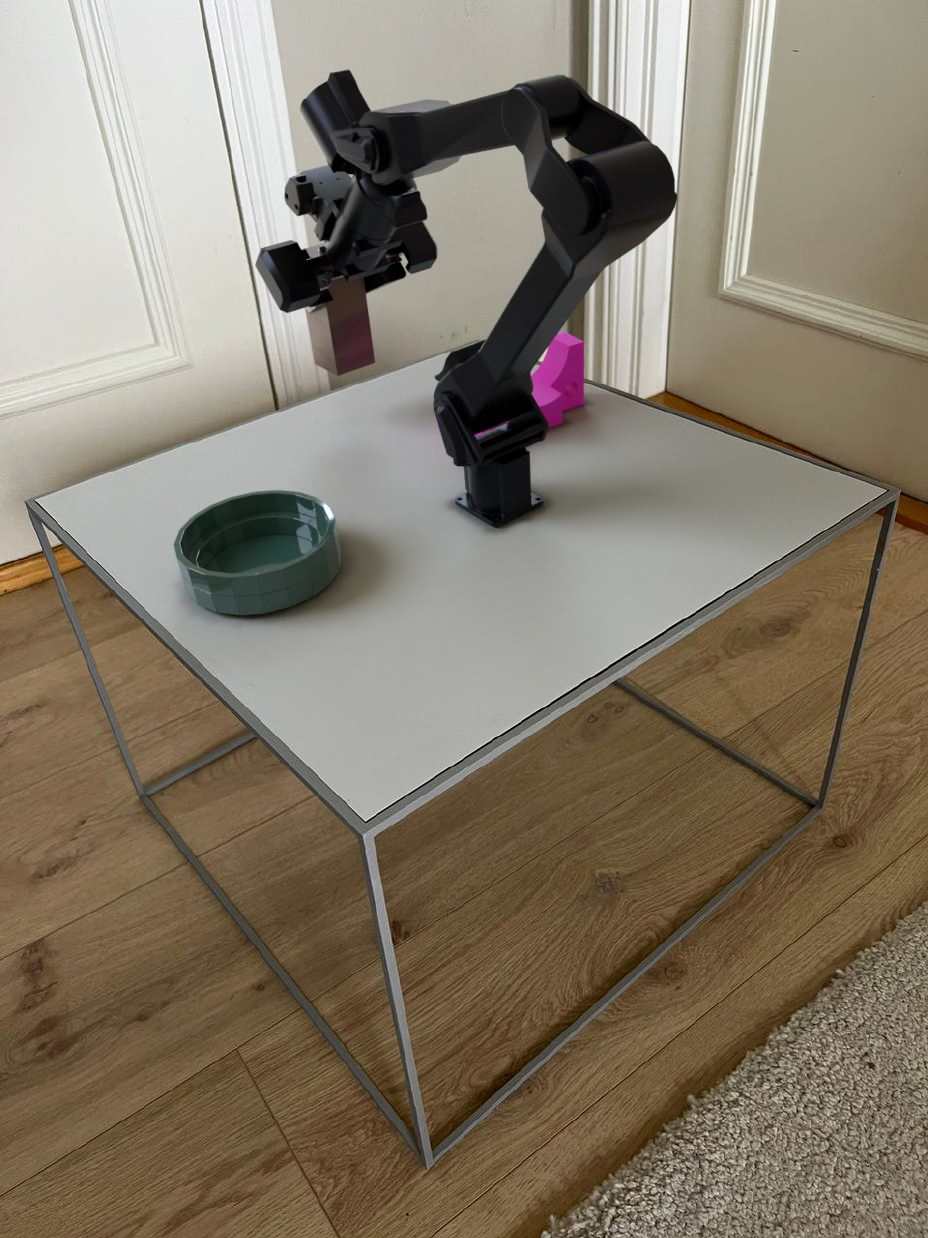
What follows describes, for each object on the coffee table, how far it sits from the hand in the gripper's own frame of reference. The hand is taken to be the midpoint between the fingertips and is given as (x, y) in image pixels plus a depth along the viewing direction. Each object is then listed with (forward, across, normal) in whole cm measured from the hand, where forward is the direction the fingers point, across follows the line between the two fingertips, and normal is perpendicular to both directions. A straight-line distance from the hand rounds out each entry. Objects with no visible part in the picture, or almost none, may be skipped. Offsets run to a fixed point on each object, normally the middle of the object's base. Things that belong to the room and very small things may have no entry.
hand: (329, 302), depth 103 cm
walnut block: (+4, 0, +6) cm, 7 cm away
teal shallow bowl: (-6, +23, +25) cm, 35 cm away
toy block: (-2, -14, +21) cm, 25 cm away
